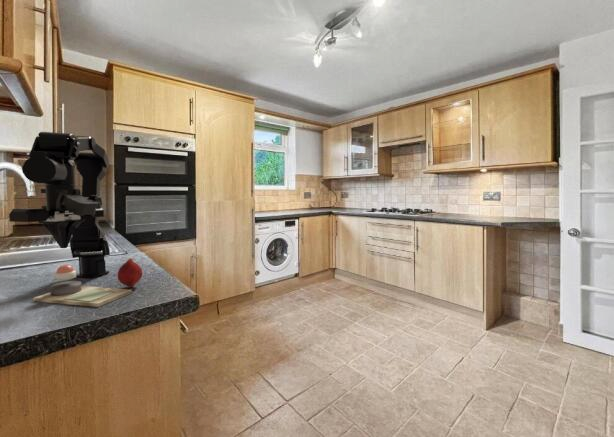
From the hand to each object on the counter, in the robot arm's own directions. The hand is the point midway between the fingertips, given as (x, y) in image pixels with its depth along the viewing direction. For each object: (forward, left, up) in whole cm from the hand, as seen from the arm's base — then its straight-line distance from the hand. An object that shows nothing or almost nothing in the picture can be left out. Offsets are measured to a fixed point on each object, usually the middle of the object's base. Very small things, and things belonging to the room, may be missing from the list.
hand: (64, 248), depth 73 cm
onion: (+10, +9, -12) cm, 18 cm away
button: (0, 0, -8) cm, 8 cm away
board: (+5, 0, -12) cm, 13 cm away
